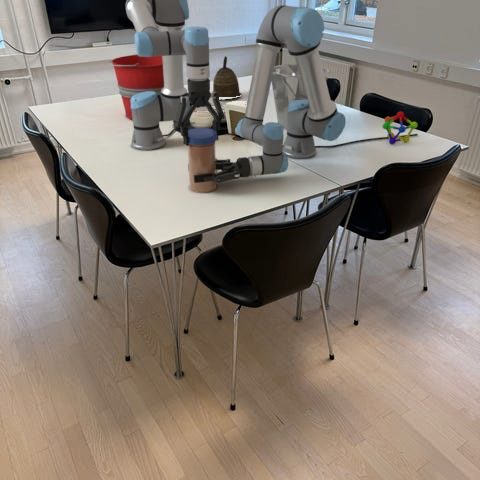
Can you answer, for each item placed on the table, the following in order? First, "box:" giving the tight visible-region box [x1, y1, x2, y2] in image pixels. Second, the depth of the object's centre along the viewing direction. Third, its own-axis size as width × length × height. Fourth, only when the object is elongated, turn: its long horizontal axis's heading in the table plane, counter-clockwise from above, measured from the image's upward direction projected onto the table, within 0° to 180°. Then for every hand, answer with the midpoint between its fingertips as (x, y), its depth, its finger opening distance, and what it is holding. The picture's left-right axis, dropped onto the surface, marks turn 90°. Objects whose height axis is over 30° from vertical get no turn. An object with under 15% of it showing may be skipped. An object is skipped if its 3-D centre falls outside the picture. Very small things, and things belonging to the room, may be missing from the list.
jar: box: [187, 141, 217, 194], centre depth 163 cm, size 10×10×20 cm
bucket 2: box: [271, 63, 330, 130], centre depth 226 cm, size 30×30×28 cm
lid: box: [188, 127, 218, 145], centre depth 158 cm, size 11×11×2 cm
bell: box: [212, 56, 242, 97], centre depth 278 cm, size 19×26×20 cm
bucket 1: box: [108, 53, 164, 121], centre depth 240 cm, size 35×35×30 cm
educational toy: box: [382, 110, 418, 145], centre depth 207 cm, size 16×13×15 cm
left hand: (201, 141), depth 159 cm, fingers closed on lid, 11 cm apart
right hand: (191, 173), depth 164 cm, fingers closed on jar, 10 cm apart
